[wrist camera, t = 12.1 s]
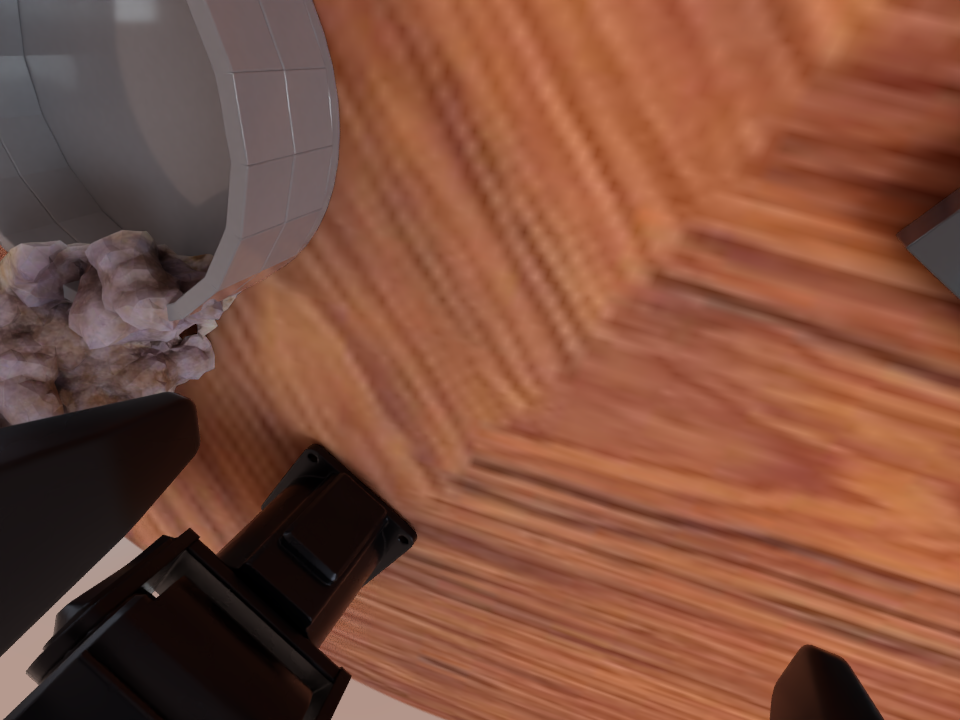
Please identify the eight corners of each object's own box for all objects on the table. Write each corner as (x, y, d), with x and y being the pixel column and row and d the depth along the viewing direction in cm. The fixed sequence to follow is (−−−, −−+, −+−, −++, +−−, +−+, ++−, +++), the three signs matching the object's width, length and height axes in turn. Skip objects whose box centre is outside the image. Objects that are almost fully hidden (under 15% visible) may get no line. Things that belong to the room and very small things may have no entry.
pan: (252, 346, 25) (168, 397, 22) (3, 121, 25) (-125, 134, 21) (416, 54, 17) (326, 56, 13) (49, -290, 17) (-149, -385, 13)
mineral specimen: (-79, 107, 18) (-217, 403, 13) (259, 207, 23) (246, 441, 19) (-33, 388, 32) (-90, 576, 28) (169, 409, 38) (149, 569, 33)
